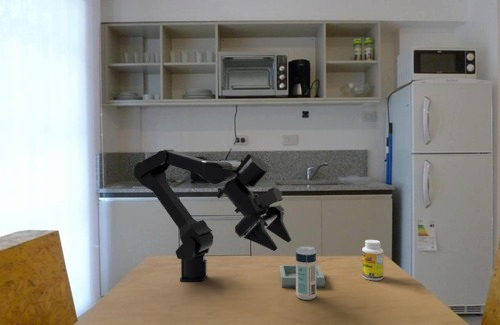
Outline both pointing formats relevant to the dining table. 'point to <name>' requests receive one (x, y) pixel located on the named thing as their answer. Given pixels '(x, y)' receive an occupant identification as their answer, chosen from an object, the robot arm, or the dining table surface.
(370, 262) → the supplement bottle
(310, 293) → the beer can
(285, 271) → the dish
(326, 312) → the dining table surface
